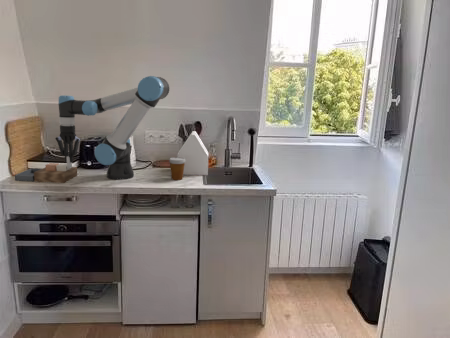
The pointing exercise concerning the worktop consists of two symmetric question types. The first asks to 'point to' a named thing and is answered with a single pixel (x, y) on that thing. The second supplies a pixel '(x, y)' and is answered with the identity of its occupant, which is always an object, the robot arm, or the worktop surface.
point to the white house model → (194, 156)
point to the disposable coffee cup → (177, 167)
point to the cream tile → (62, 167)
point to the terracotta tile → (51, 166)
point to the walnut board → (55, 175)
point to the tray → (26, 175)
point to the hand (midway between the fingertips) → (69, 167)
